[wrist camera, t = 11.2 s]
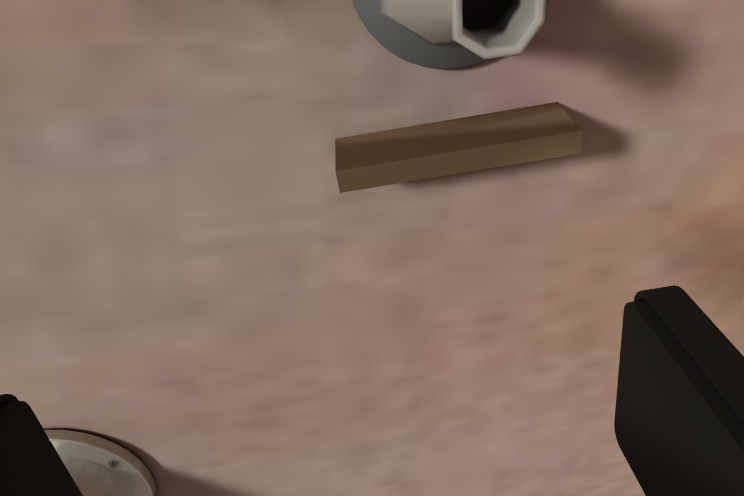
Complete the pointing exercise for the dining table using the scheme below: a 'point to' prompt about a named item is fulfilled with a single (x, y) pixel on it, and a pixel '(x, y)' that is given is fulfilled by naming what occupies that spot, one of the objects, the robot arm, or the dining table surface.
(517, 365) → the dining table surface
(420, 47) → the grey flat disc
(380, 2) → the flask
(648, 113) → the dining table surface
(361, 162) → the wooden plank
